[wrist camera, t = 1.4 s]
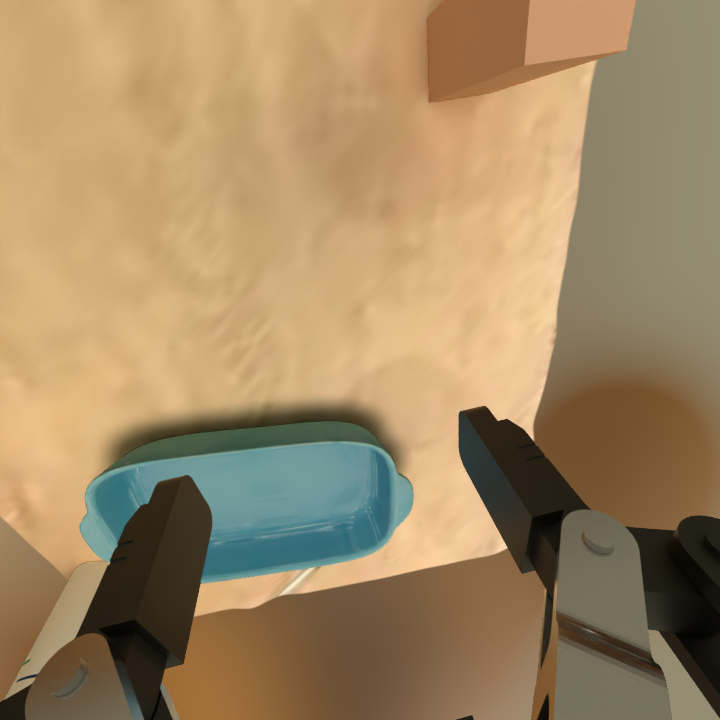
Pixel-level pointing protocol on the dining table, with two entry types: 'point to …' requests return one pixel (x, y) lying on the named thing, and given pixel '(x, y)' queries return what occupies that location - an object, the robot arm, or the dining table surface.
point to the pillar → (518, 41)
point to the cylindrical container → (62, 621)
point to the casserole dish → (264, 495)
